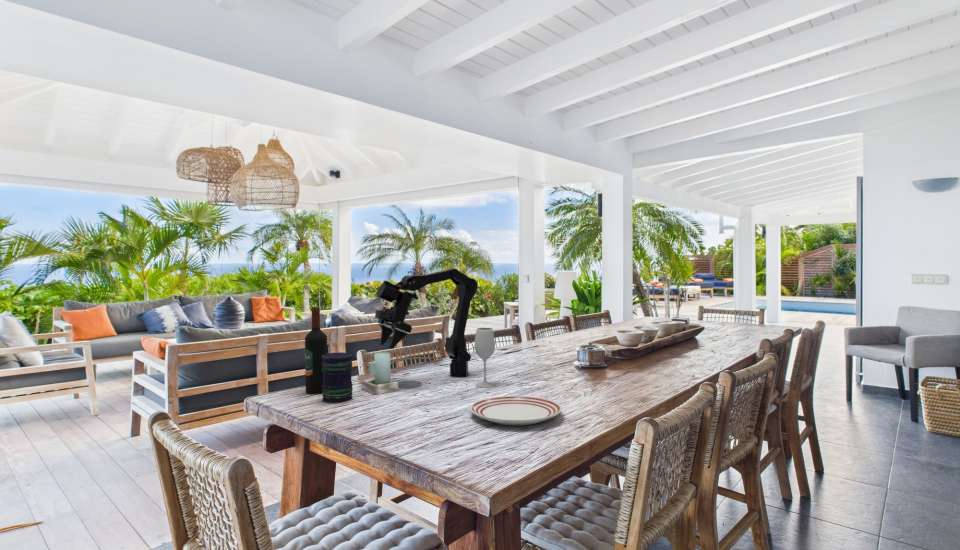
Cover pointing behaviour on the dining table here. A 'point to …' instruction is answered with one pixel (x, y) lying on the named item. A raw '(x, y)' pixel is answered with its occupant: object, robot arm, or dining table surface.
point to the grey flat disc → (408, 384)
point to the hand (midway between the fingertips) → (386, 346)
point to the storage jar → (337, 377)
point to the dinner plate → (515, 409)
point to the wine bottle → (314, 354)
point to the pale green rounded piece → (381, 368)
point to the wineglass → (484, 350)
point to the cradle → (379, 387)
